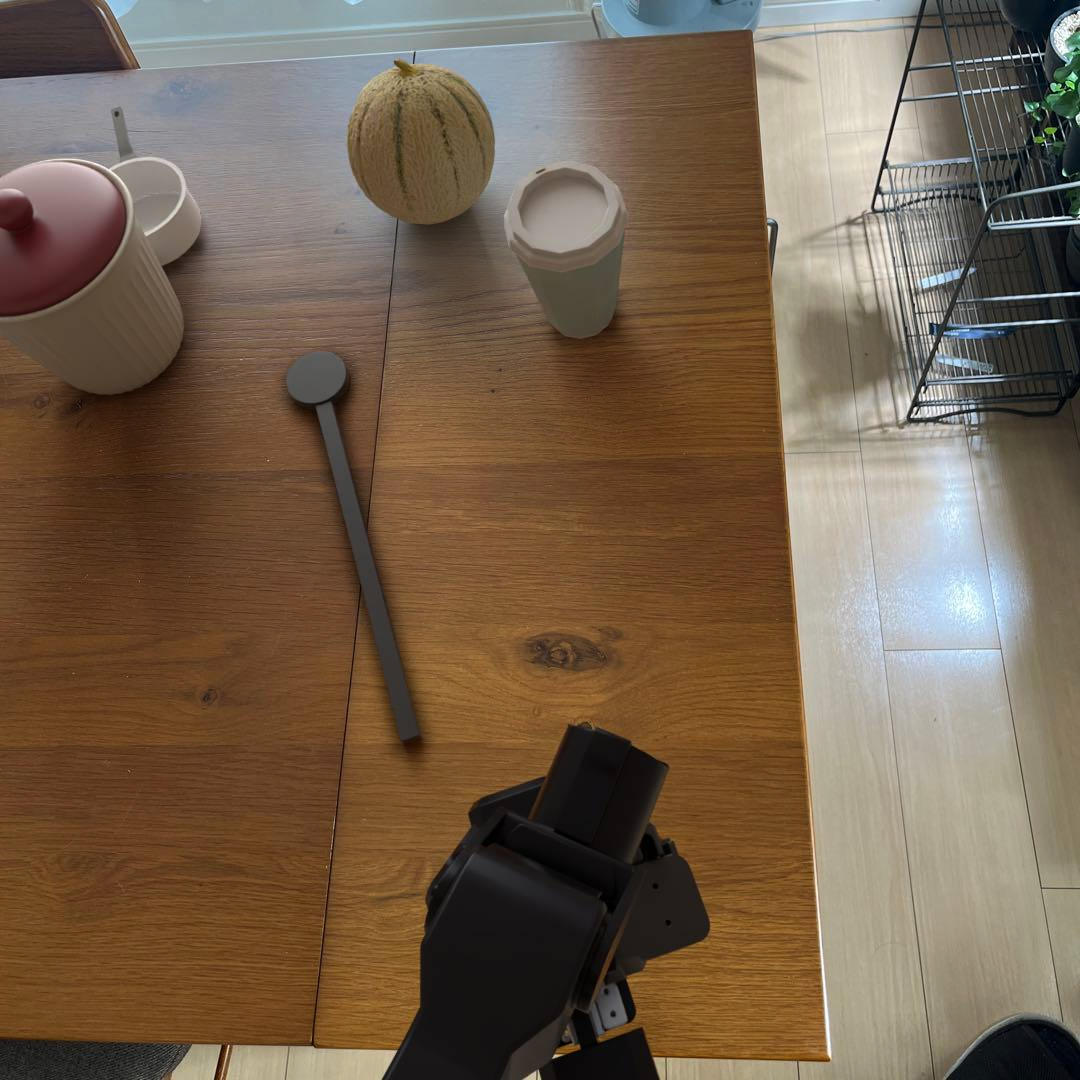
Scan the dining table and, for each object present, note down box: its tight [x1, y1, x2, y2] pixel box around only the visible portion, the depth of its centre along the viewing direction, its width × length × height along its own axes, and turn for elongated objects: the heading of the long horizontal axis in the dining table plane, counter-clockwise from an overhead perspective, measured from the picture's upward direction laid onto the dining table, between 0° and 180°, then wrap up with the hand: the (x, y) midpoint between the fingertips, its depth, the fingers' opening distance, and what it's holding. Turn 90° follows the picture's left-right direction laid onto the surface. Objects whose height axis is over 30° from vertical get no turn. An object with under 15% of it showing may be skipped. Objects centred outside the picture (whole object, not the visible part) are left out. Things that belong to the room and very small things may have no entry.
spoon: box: [285, 350, 423, 745], centre depth 86 cm, size 40×6×1 cm, turn 18°
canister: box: [0, 158, 185, 396], centre depth 89 cm, size 18×18×21 cm
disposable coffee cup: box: [503, 159, 630, 340], centre depth 87 cm, size 11×11×15 cm
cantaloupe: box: [346, 58, 496, 225], centre depth 95 cm, size 15×15×15 cm
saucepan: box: [108, 106, 203, 267], centre depth 104 cm, size 12×20×6 cm, turn 18°
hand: (572, 948), depth 64 cm, fingers closed on lighter, 3 cm apart
